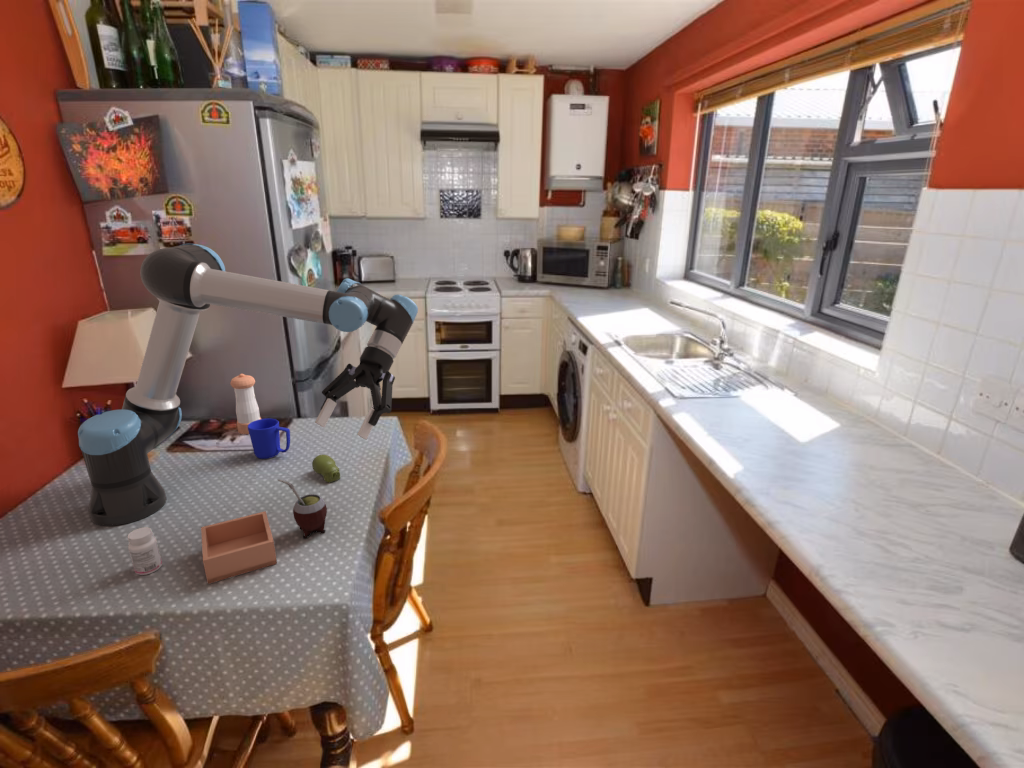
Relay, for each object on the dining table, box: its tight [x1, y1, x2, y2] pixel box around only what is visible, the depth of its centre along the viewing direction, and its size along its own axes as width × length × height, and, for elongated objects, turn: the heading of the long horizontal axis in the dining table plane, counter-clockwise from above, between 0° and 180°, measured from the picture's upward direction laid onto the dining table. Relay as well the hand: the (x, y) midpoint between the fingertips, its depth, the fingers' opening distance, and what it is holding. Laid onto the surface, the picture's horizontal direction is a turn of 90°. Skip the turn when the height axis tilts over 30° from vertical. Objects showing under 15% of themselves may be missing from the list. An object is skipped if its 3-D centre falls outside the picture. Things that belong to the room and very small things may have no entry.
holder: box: [200, 510, 278, 585], centre depth 111 cm, size 13×13×6 cm
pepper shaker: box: [229, 373, 262, 435], centre depth 168 cm, size 7×7×19 cm
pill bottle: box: [127, 526, 163, 576], centre depth 106 cm, size 5×5×8 cm
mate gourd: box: [277, 478, 328, 540], centre depth 118 cm, size 8×8×15 cm
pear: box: [311, 454, 341, 483], centre depth 144 cm, size 6×5×10 cm
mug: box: [248, 418, 291, 460], centre depth 153 cm, size 8×12×10 cm
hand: (340, 431), depth 122 cm, fingers open, 13 cm apart
